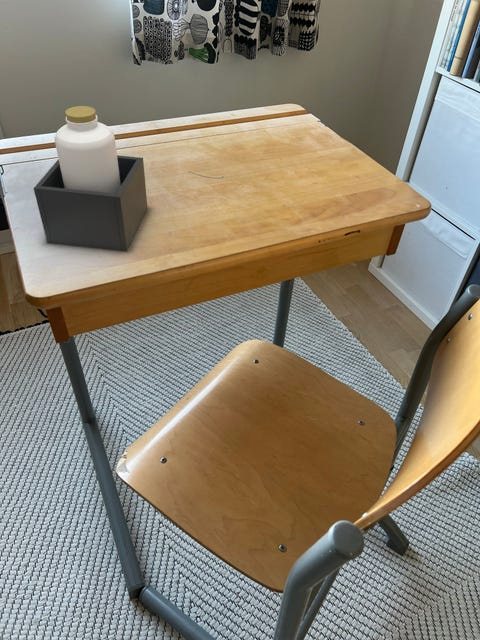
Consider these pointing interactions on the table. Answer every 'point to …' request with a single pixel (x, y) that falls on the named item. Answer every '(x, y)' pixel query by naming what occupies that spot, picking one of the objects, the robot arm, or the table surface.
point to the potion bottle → (87, 152)
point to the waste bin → (93, 209)
